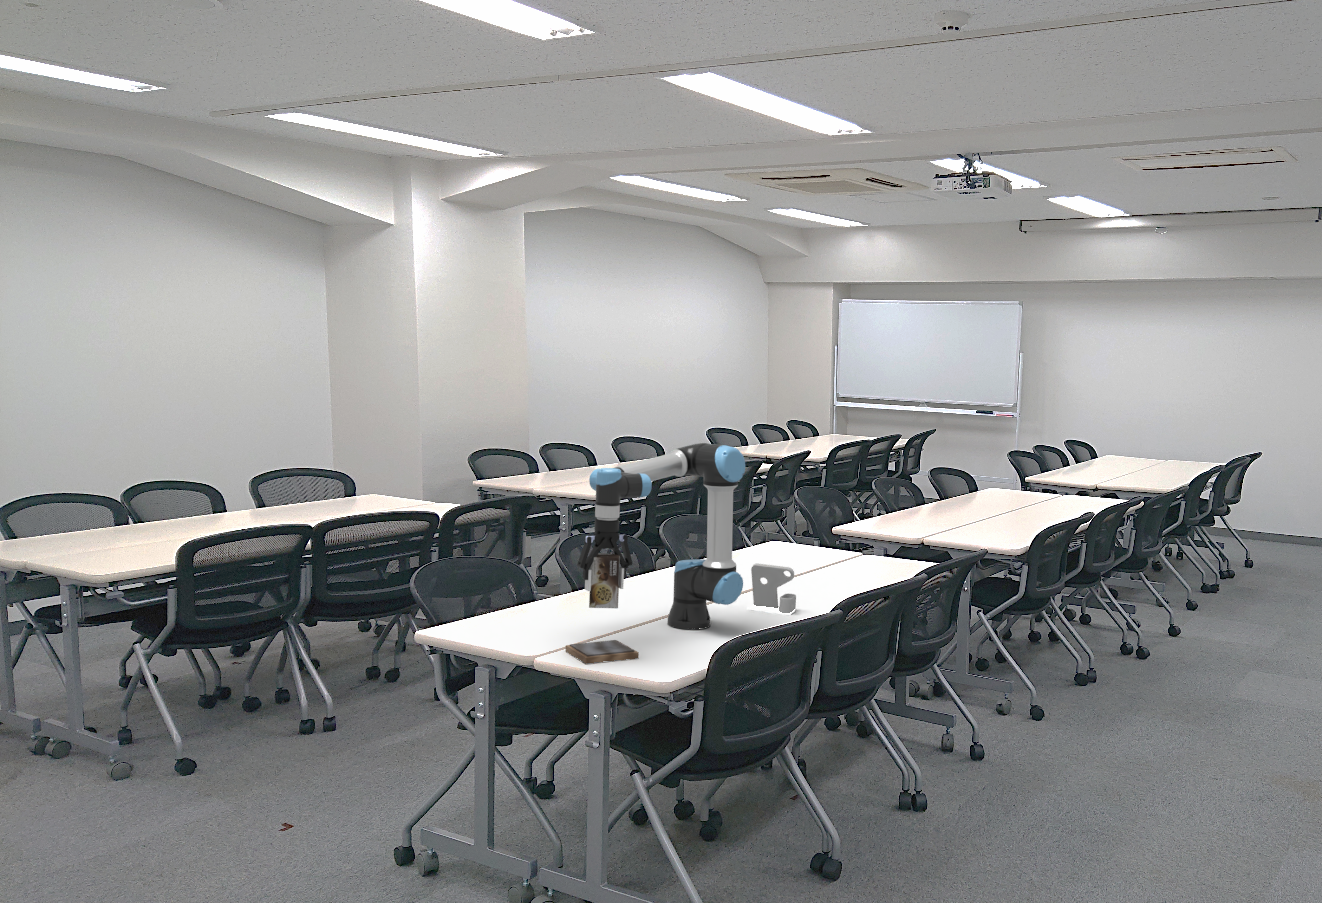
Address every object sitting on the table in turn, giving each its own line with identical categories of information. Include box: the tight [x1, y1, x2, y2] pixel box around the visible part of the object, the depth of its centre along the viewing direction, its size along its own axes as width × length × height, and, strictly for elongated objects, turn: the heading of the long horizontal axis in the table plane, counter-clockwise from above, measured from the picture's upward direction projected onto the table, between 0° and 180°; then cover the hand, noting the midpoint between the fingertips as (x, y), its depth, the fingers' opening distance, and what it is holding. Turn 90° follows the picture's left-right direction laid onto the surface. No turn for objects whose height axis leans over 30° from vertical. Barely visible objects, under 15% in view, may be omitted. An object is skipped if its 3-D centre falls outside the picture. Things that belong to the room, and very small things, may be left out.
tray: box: [565, 639, 640, 664], centre depth 337 cm, size 18×15×2 cm
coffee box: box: [588, 552, 620, 609], centre depth 335 cm, size 9×6×16 cm
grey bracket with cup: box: [750, 563, 797, 613], centre depth 408 cm, size 17×10×18 cm, turn 67°
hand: (604, 589), depth 335 cm, fingers closed on coffee box, 10 cm apart
